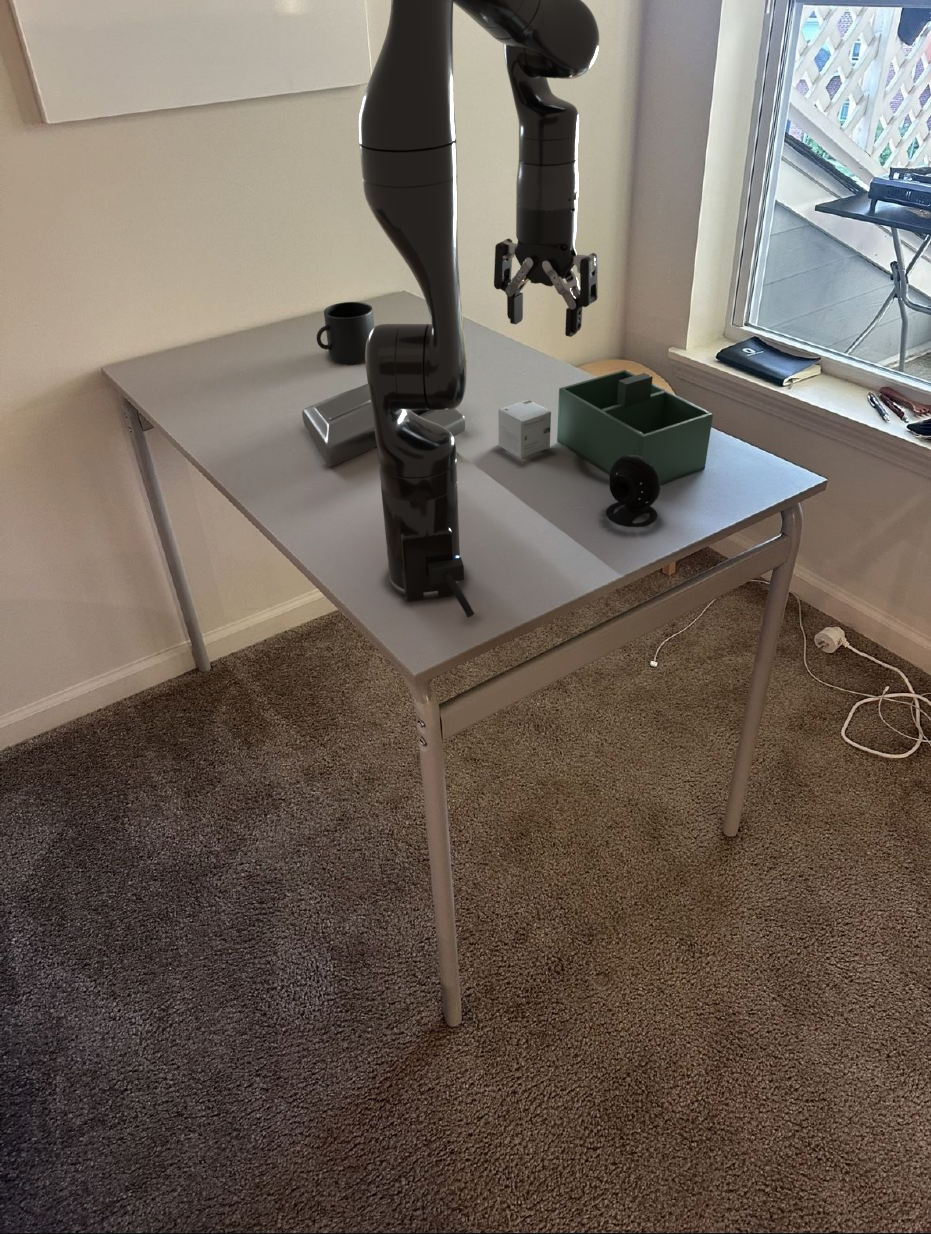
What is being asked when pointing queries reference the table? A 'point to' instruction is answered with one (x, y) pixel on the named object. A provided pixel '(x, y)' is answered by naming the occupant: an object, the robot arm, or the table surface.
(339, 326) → the mug
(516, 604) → the table surface
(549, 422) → the product carton
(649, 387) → the bin
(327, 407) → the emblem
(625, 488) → the webcam
